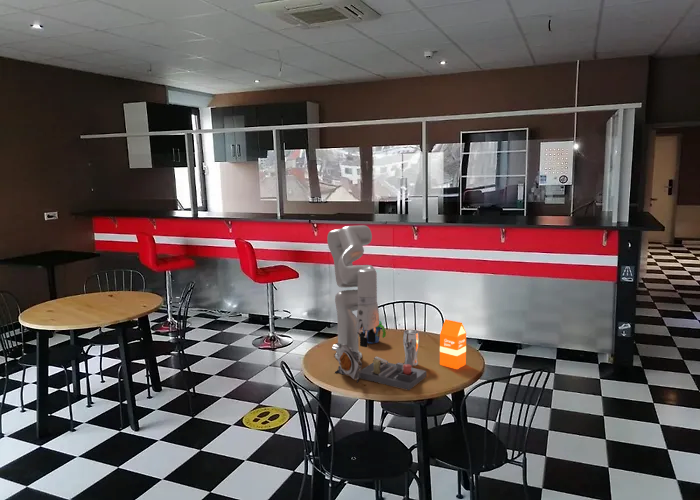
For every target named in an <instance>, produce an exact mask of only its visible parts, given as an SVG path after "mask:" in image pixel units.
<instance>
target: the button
mask: <svg viewBox="0 0 700 500" xmlns="http://www.w3.org/2000/svg"><path fill="white" fill-rule="evenodd" d="M411 368H412V366H411V365H409V364H404V365H403V374H405V375H411Z"/></svg>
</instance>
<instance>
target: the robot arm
mask: <svg viewBox="0 0 700 500" xmlns="http://www.w3.org/2000/svg"><path fill="white" fill-rule="evenodd" d="M372 239H373V234H372V231H371V228H370V227H369V226H367V225H363V224H362V225H361V224H360V225H347V226H343V227H342V228H336V229H333V230H330V231H329V232H328V234H327V239H326V240H327V246H328V248H329V251H330V253H331V257H332V259H333V263H334V265H333V266H334V274H335V281H336V282H335V283H336V284H337V286H338V287H339V288H342V289H343V288H344V289H345V290H341V291H338V292H337V293H336V294H335V298H334V303H335V307H336V315H337V343H339V344H346V345H347V346H349V347H351V348H352V349H353V350H354V352H358V353H359V359H360V360H361V359H362V357H363V353H362V352H361V351H359V350H360V349H359V347H363V348H368V347H369V345H368V344H369V343H368V342H371V343H372V344H376V343H375V333H376V328H377V326H378V325H379V321H380V314H379V313H380V311H379V304H378V297H377V296H378V295H377V294H378V289H377V288H378V287H377V286H378V285H377V284H378V283H377V281H378V280H377V279H378V278H377V271H376V269H375V267H374V266H373V265H371V264H370V265H369V264H363V265H361V264H360V265H359V264H358V265H354V264H353V263H354V262H356V261H357V260H359V259H361V257H362V256H363V255H364V251H365V250H364V249H365V248H364V246H367V245H369V244H371V242H372ZM346 288H357V289H347V290H346ZM355 311H356V314H355V313H354V312H355ZM362 328H364V329H362ZM363 331H365V332H364V333H363ZM367 331H369V332H368V337H367ZM371 343H370V344H371ZM359 345H360V346H359ZM331 350H332V351H336V353H335V354H334V358H335V359H336V360H338V357H339V354H340V351H341V350H340V349H339V348H338V346H337V345H336V344H333V345H332V347H331Z"/></svg>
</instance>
